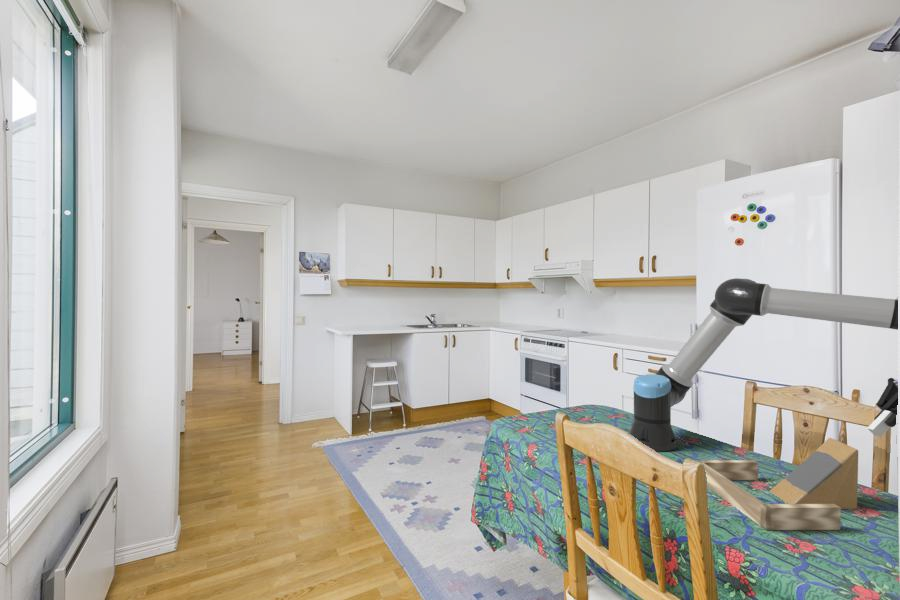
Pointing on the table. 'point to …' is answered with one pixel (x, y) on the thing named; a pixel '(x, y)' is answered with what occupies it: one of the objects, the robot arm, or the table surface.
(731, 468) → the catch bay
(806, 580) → the table surface
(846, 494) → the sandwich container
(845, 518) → the table surface
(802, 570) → the table surface
